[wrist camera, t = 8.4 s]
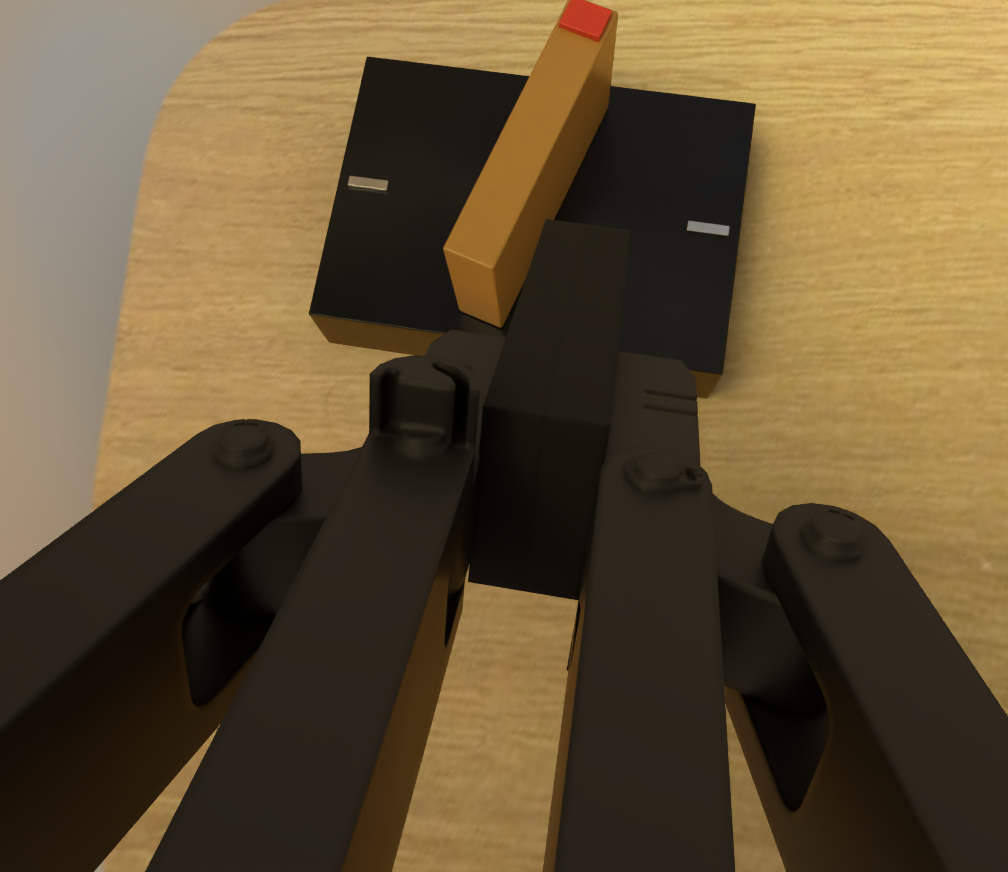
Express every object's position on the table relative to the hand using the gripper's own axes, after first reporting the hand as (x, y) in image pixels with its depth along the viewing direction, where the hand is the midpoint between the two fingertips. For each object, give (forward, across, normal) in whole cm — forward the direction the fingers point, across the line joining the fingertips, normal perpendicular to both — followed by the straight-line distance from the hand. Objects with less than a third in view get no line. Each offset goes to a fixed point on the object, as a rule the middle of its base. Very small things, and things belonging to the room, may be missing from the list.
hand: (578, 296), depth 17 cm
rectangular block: (+15, -2, -4) cm, 16 cm away
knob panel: (+18, -2, -6) cm, 19 cm away
